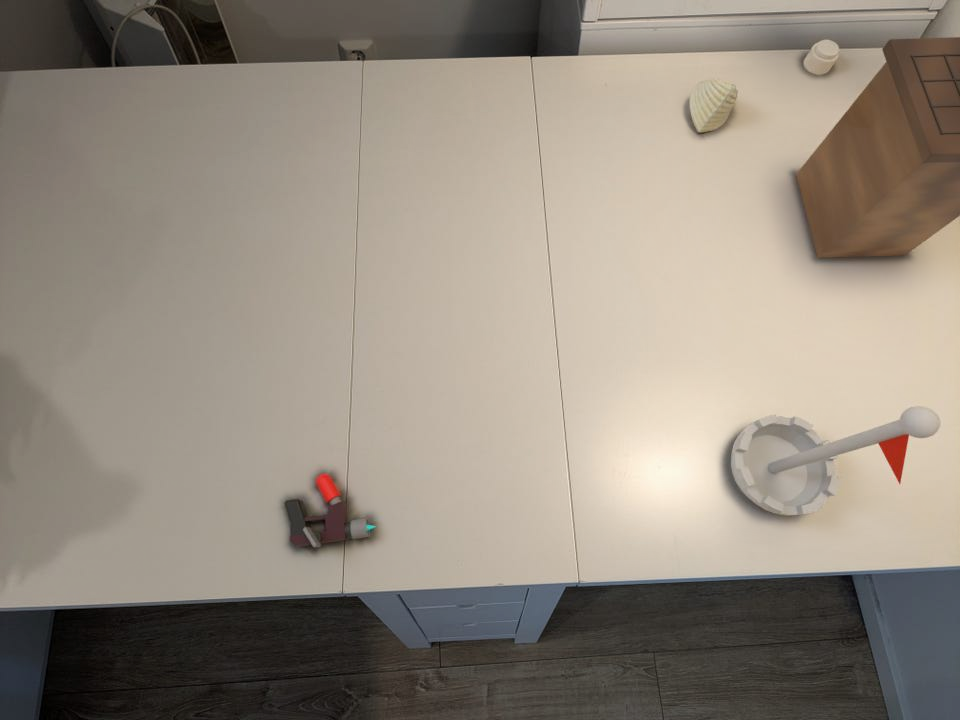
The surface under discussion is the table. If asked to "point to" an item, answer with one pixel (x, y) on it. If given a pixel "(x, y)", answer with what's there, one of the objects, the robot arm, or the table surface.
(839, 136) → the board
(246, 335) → the table surface
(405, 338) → the table surface
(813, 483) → the flag stand
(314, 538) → the toy gun
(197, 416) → the table surface
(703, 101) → the seashell
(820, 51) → the white short cylinder
